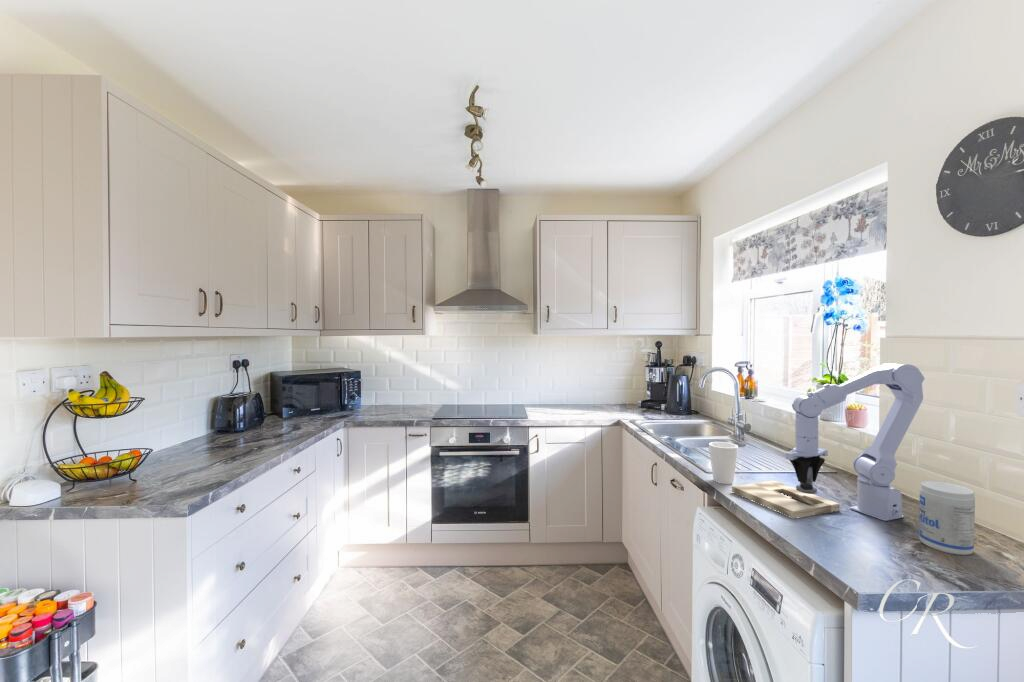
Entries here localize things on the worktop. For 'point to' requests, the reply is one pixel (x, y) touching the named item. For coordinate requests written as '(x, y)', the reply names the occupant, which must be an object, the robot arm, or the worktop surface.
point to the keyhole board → (785, 499)
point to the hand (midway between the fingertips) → (806, 481)
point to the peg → (807, 483)
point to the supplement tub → (947, 517)
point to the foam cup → (723, 461)
